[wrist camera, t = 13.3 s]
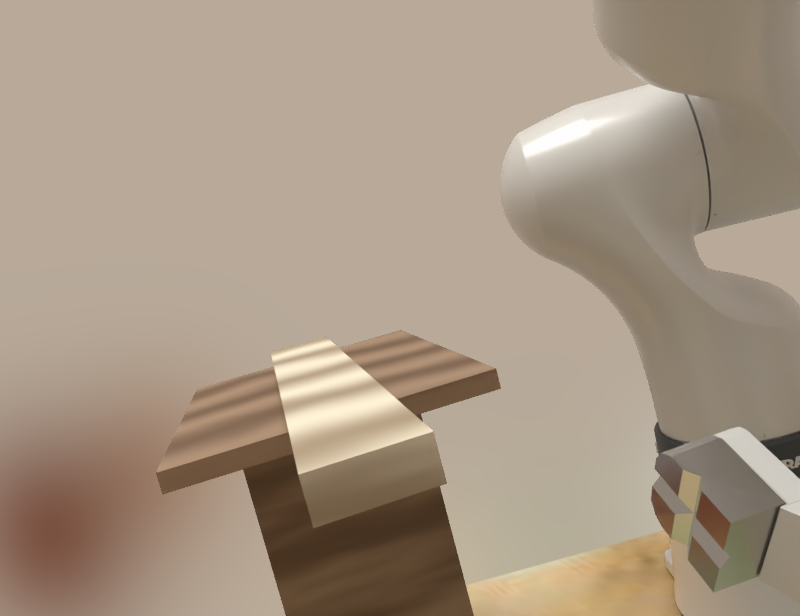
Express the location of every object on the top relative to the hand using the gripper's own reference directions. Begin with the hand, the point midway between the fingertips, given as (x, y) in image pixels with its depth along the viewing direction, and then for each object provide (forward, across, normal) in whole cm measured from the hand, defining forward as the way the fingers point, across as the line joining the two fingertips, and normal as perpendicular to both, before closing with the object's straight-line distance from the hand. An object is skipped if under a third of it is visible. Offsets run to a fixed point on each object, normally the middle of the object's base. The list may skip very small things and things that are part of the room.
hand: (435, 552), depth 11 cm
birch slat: (+19, 0, +14) cm, 24 cm away
